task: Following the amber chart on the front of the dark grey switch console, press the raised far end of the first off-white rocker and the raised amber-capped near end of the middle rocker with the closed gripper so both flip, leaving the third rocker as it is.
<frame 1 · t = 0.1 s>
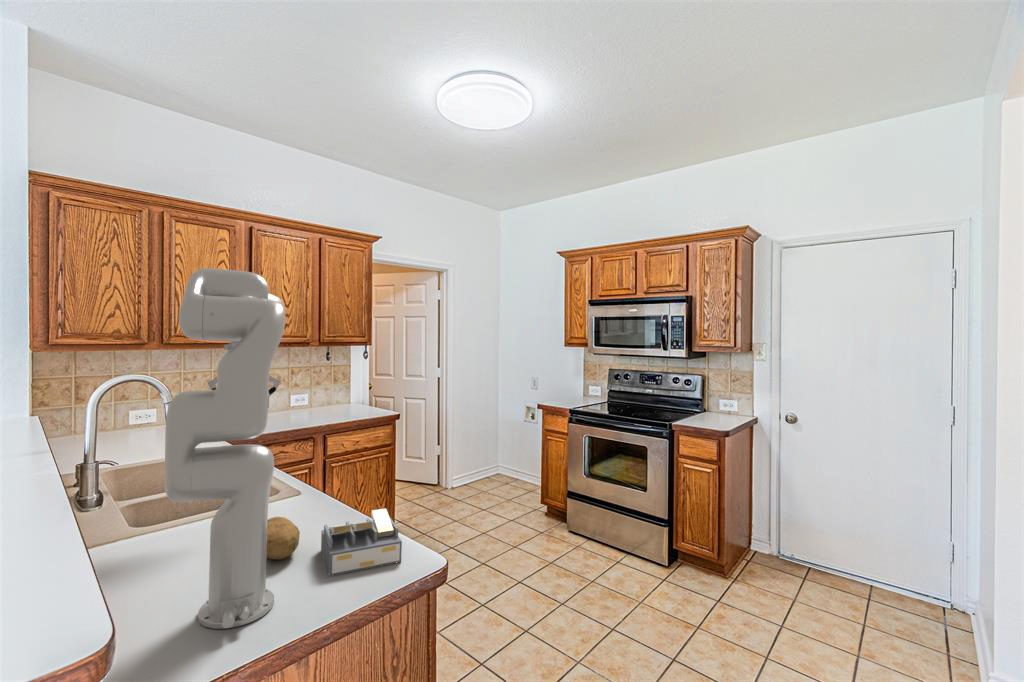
hand: (244, 411, 131), 31 cm above the worktop, tool pointing down, fingers open, 9 cm apart
rocker 2: (361, 525, 115), point 7 cm above the worktop, hinge at 20.0°
rocker 1: (382, 522, 118), point 7 cm above the worktop, hinge at -20.0°
console: (360, 556, 116), on the worktop
potato: (277, 557, 114), on the worktop
rocker 3: (339, 529, 113), point 7 cm above the worktop, hinge at 20.0°
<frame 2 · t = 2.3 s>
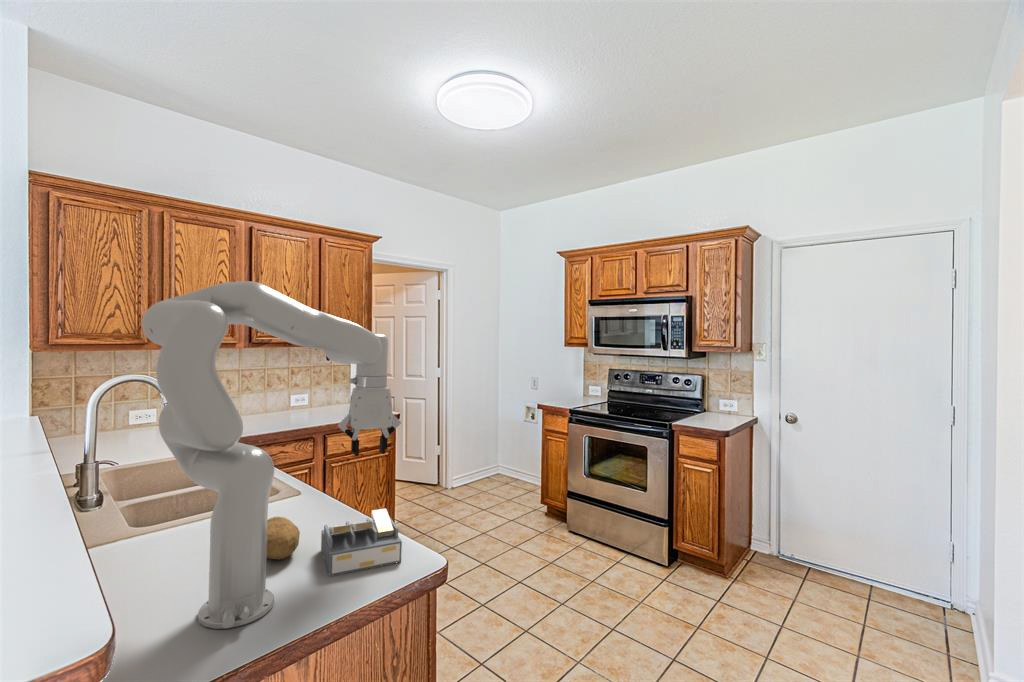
hand: (369, 453, 121), 24 cm above the worktop, tool pointing down, fingers open, 5 cm apart
nothing on the worktop moved.
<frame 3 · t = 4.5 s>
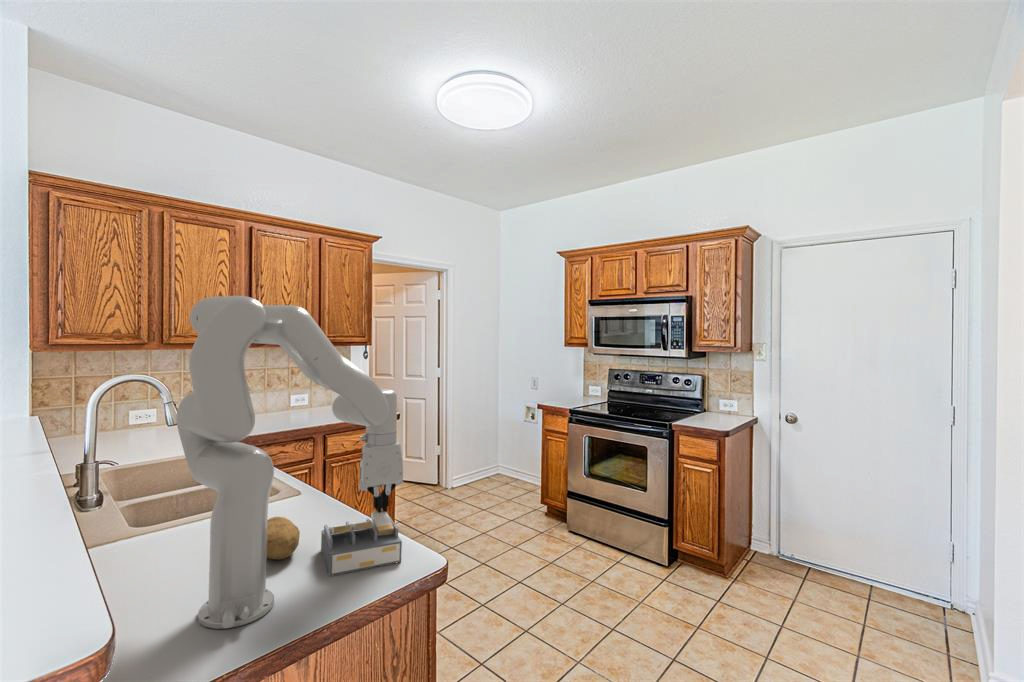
hand: (381, 509, 122), 9 cm above the worktop, tool pointing down, fingers closed
rocker 1: (382, 522, 118), point 7 cm above the worktop, hinge at -13.2°, touching gripper
everything else where it was.
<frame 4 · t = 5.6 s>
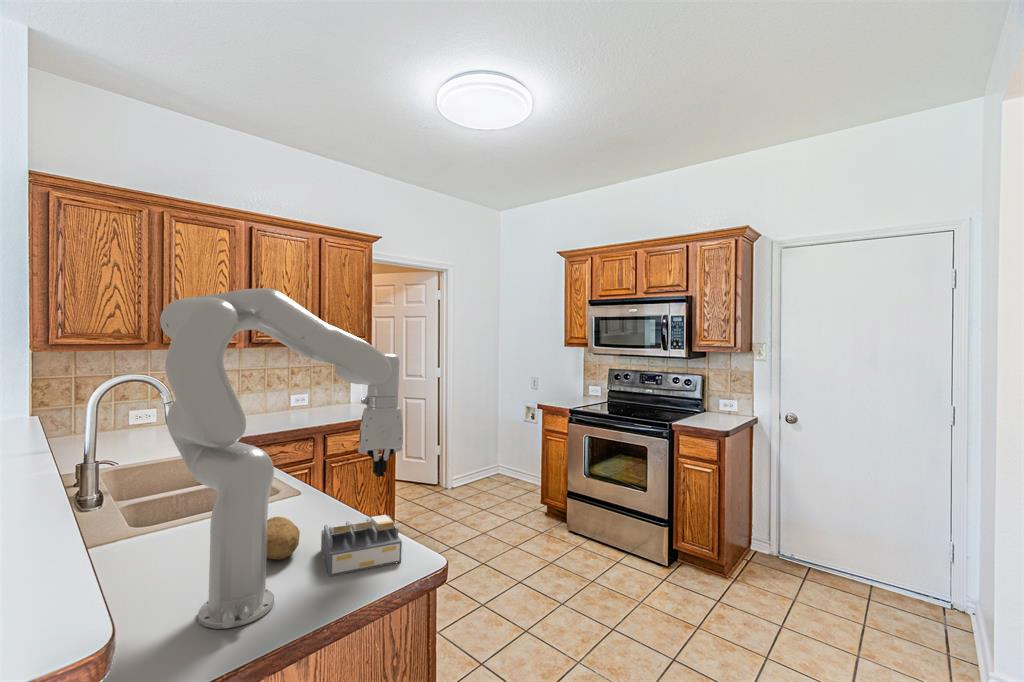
hand: (379, 475, 120), 18 cm above the worktop, tool pointing down, fingers closed
rocker 1: (382, 522, 118), point 7 cm above the worktop, hinge at 6.7°
everything else where it was.
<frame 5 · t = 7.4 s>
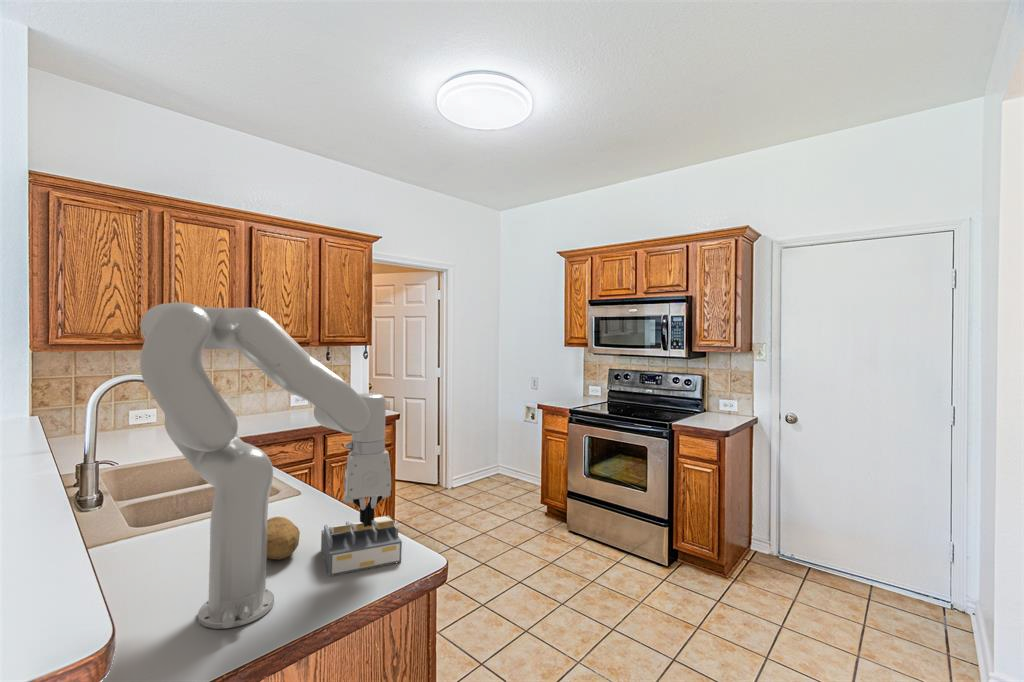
hand: (366, 524, 113), 9 cm above the worktop, tool pointing down, fingers closed
rocker 2: (361, 525, 115), point 7 cm above the worktop, hinge at 17.8°, touching gripper
rocker 1: (382, 522, 118), point 7 cm above the worktop, hinge at 11.8°
everything else where it was.
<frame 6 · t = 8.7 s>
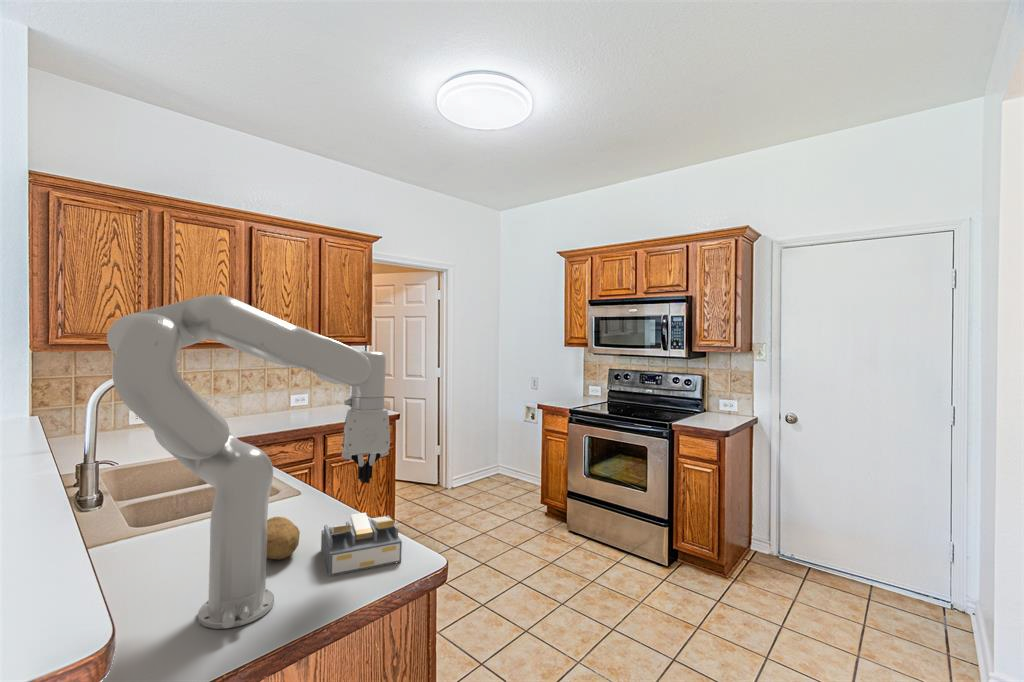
hand: (364, 481, 113), 19 cm above the worktop, tool pointing down, fingers closed
rocker 2: (361, 525, 115), point 7 cm above the worktop, hinge at -14.8°
rocker 1: (382, 522, 118), point 7 cm above the worktop, hinge at 12.2°
everything else where it was.
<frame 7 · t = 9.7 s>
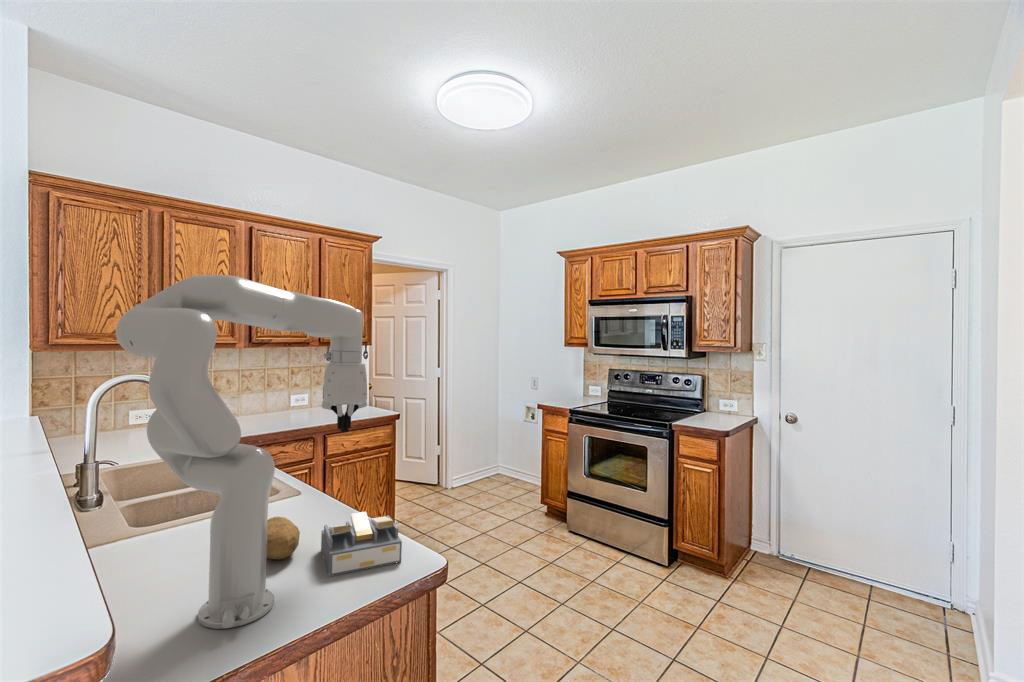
hand: (343, 431, 120), 29 cm above the worktop, tool pointing down, fingers closed
rocker 2: (361, 525, 115), point 7 cm above the worktop, hinge at -19.7°
everything else where it was.
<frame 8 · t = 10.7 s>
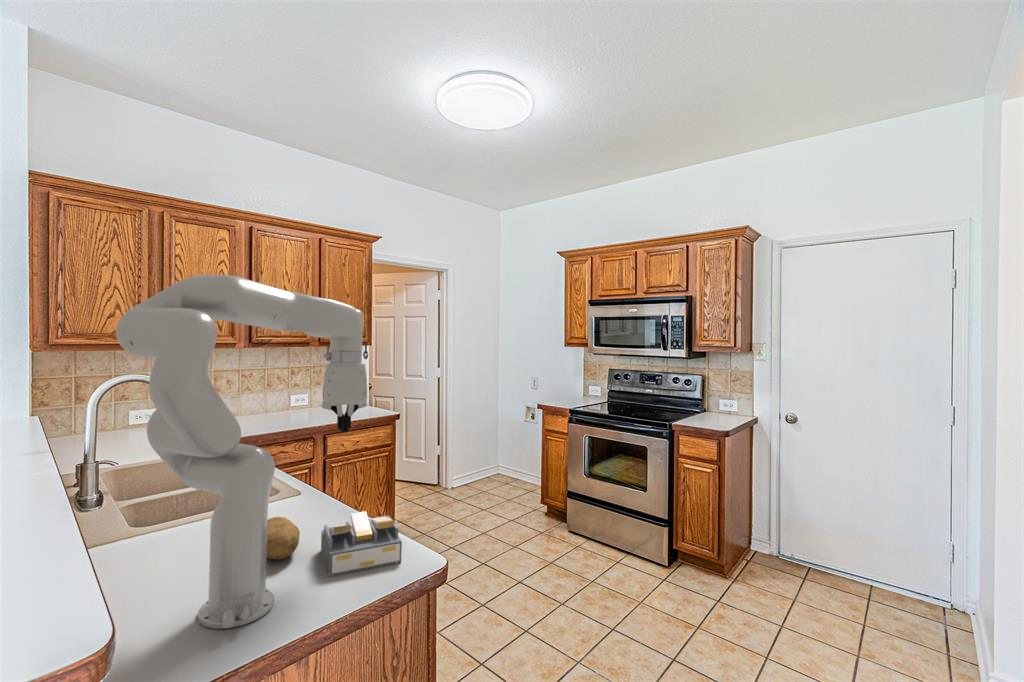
hand: (343, 431, 120), 29 cm above the worktop, tool pointing down, fingers closed
rocker 2: (361, 525, 115), point 7 cm above the worktop, hinge at -20.9°
everything else where it was.
at the end: rocker 1 at +12° (first picture: -20°); rocker 2 at -21° (first picture: +20°); rocker 3 at +20° (first picture: +20°) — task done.
